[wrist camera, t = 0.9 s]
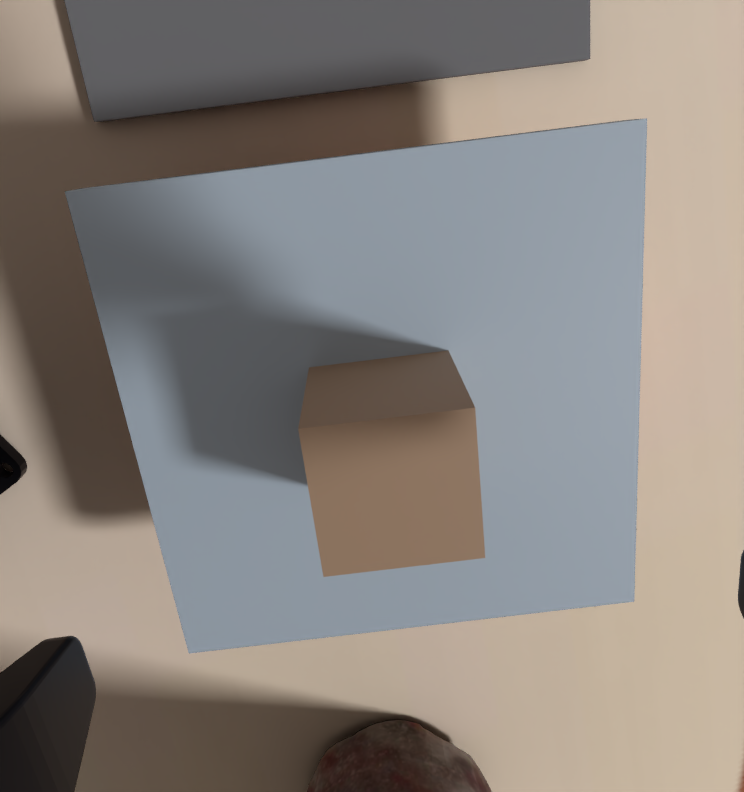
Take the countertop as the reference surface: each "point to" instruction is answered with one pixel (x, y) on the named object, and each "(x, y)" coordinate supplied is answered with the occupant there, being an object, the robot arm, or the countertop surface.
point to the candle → (396, 763)
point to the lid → (382, 380)
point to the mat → (304, 47)
